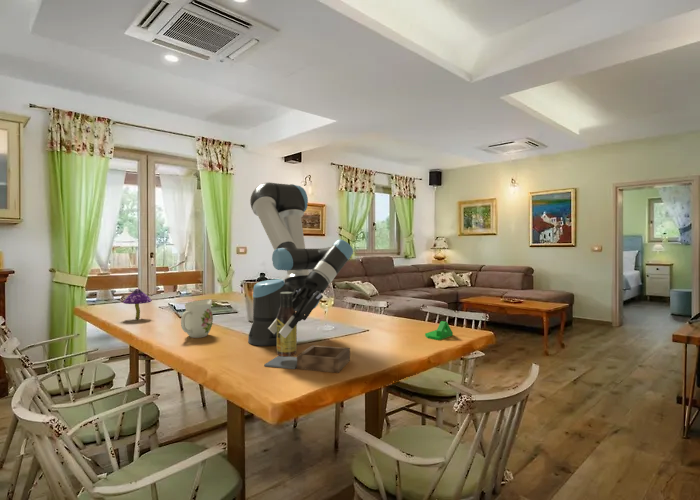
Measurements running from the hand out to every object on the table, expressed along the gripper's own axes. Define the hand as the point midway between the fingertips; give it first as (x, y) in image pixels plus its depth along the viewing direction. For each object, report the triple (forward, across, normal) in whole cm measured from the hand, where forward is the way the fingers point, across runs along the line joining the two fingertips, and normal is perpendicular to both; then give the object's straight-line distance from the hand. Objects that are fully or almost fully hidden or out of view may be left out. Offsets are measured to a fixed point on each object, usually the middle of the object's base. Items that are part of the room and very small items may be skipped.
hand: (276, 333), depth 124 cm
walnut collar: (-2, -8, -16) cm, 18 cm away
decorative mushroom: (+19, +106, +6) cm, 108 cm away
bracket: (-43, -5, -58) cm, 73 cm away
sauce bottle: (+3, 0, -8) cm, 8 cm away
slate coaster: (+5, 0, -10) cm, 11 cm away
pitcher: (+12, +53, -2) cm, 55 cm away
